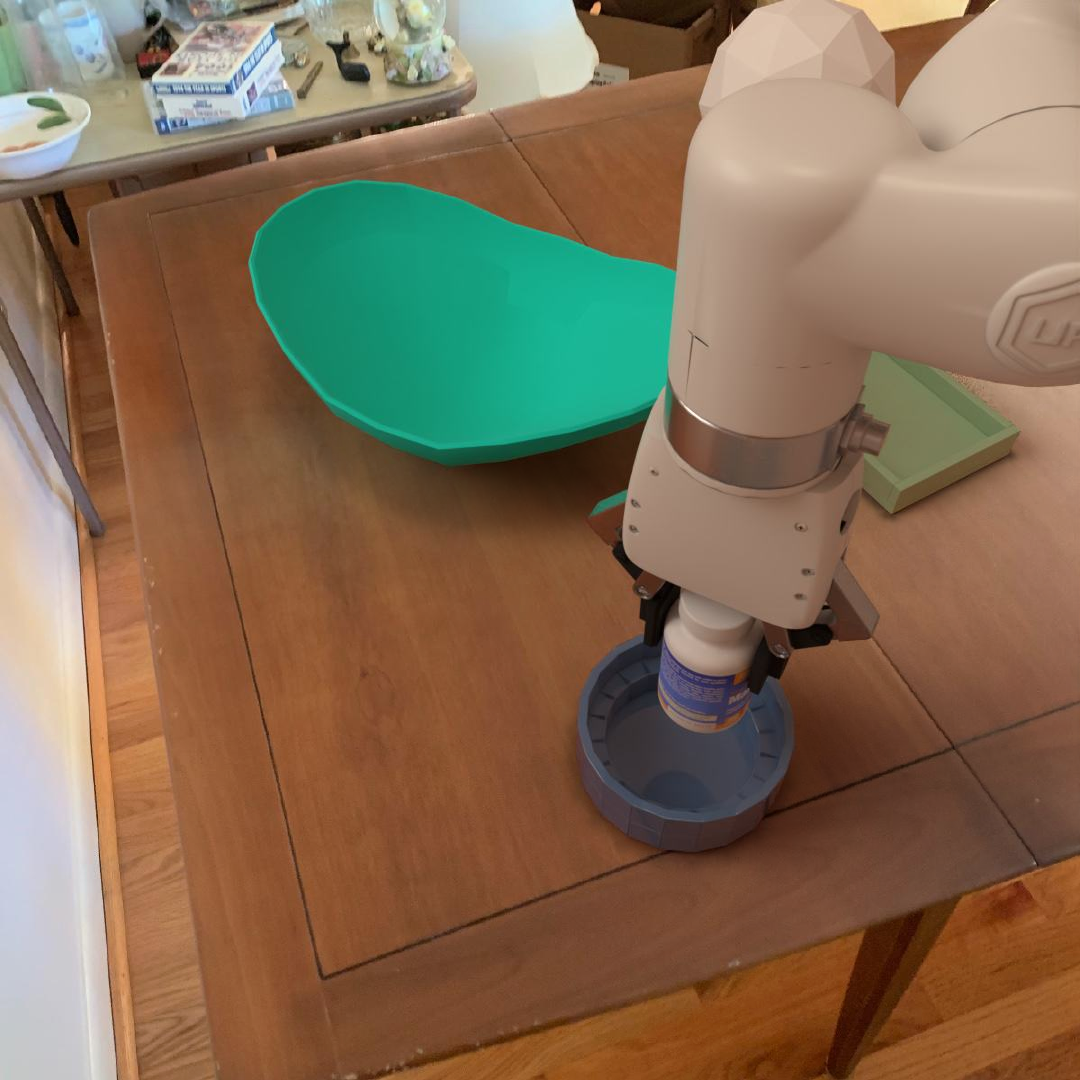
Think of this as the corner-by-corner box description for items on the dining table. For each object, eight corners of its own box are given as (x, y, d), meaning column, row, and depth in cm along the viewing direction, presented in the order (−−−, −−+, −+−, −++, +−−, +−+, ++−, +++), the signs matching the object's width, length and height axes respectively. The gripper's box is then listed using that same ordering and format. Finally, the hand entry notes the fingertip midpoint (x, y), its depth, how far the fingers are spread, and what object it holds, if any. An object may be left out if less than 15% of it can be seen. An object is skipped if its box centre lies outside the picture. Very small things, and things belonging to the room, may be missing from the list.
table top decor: (759, 389, 86) (787, 261, 76) (611, 610, 71) (621, 488, 61) (396, 257, 99) (378, 132, 89) (206, 420, 84) (158, 293, 74)
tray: (1009, 454, 81) (1021, 430, 79) (891, 515, 77) (900, 491, 74) (868, 340, 90) (875, 316, 88) (756, 389, 86) (761, 365, 84)
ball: (797, 267, 109) (849, 198, 89) (653, 162, 110) (673, 70, 90) (898, 131, 109) (973, 33, 89) (754, 28, 110) (796, -93, 90)
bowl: (822, 789, 62) (839, 753, 58) (650, 894, 58) (657, 863, 54) (699, 640, 69) (708, 599, 66) (539, 723, 65) (539, 685, 61)
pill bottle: (738, 747, 55) (763, 654, 48) (646, 721, 56) (656, 626, 49) (757, 668, 58) (783, 570, 51) (669, 645, 60) (682, 546, 52)
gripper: (994, 419, 39) (884, 662, 53) (611, 297, 45) (604, 546, 59) (942, 548, 35) (838, 774, 49) (529, 396, 41) (542, 637, 55)
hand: (711, 647), depth 54 cm, fingers closed on pill bottle, 5 cm apart
